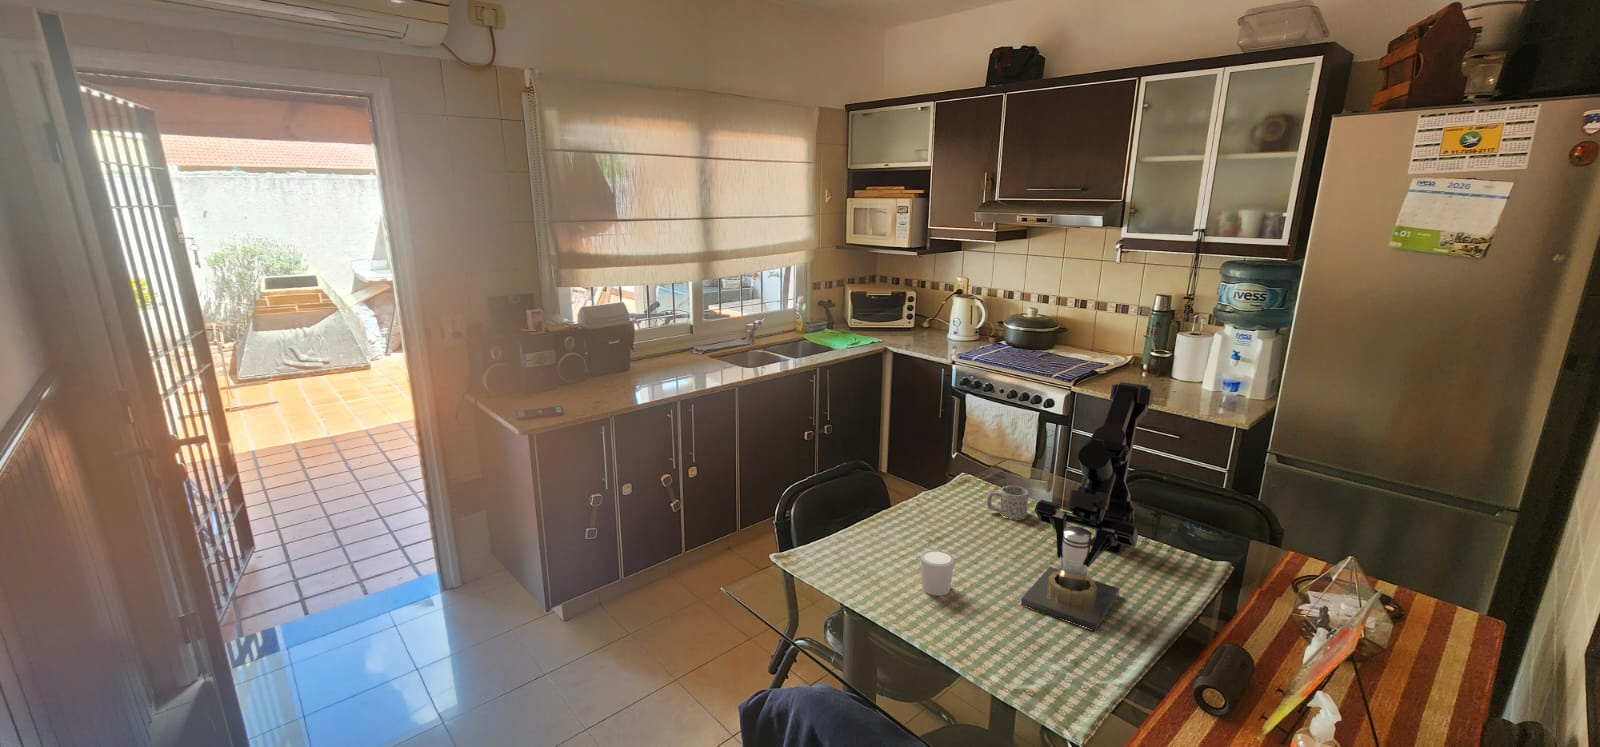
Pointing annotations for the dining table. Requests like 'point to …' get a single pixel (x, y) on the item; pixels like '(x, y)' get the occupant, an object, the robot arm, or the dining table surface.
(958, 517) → the dining table surface
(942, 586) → the white cylinder
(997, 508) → the mug
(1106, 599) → the tube holder stand
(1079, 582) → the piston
